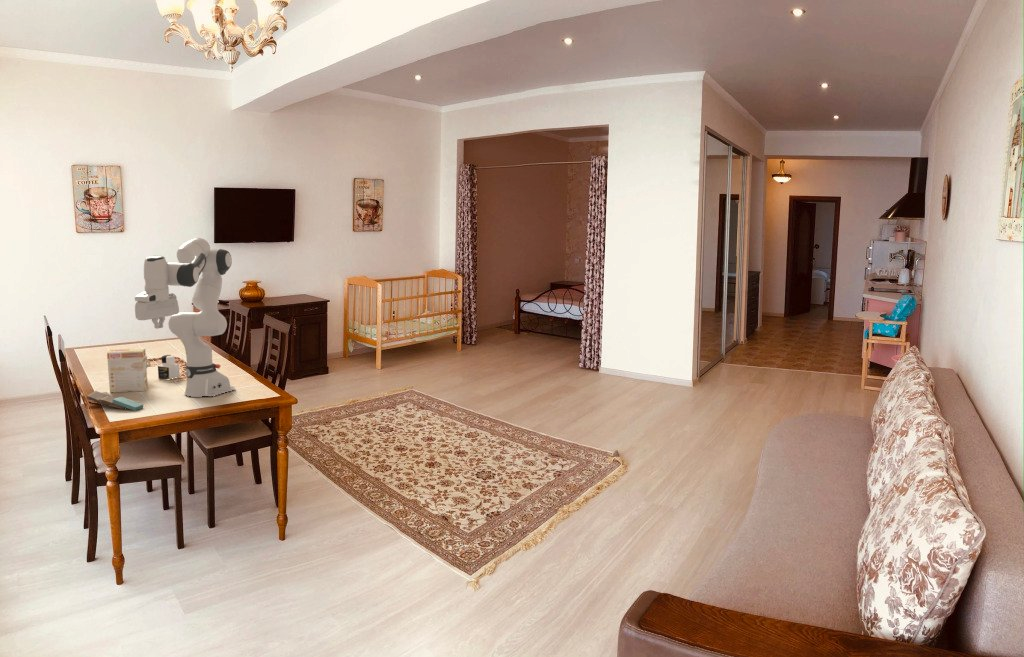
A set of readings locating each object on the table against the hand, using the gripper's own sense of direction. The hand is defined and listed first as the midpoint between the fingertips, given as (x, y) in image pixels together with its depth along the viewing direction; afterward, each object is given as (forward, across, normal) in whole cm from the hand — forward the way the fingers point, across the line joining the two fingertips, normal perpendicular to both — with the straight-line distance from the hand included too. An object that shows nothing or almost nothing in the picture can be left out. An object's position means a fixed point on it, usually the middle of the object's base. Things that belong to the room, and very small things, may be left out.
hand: (158, 328), depth 281 cm
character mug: (+37, -38, -50) cm, 73 cm away
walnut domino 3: (+36, -1, -20) cm, 41 cm away
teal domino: (+36, -1, -14) cm, 39 cm away
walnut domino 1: (+36, -1, -28) cm, 46 cm away
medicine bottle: (+37, -50, -43) cm, 75 cm away
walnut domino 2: (+36, -3, -34) cm, 49 cm away
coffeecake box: (+37, -24, -42) cm, 61 cm away
